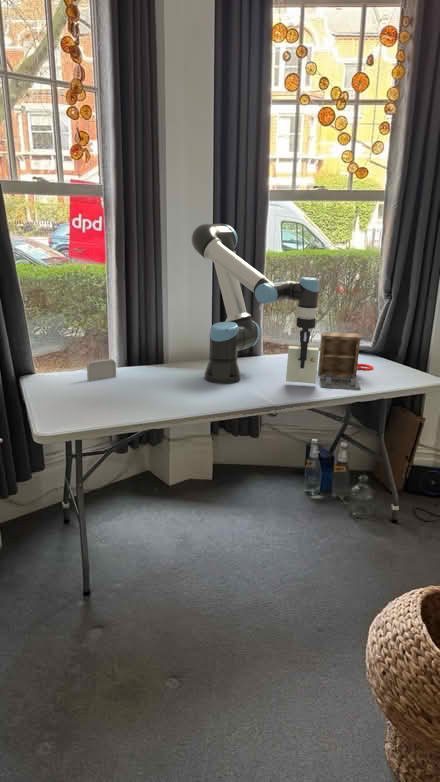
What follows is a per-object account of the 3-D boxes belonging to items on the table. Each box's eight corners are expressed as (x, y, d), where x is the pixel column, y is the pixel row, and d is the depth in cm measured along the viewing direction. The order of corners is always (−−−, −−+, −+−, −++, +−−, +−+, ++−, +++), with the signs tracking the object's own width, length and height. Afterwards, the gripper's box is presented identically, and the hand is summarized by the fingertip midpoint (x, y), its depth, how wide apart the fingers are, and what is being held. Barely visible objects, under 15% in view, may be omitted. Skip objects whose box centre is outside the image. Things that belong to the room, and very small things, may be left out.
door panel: (285, 382, 232) (288, 348, 228) (286, 378, 237) (288, 345, 233) (315, 384, 231) (318, 350, 227) (315, 380, 236) (318, 347, 231)
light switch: (116, 377, 239) (115, 359, 236) (89, 381, 232) (88, 362, 230) (114, 376, 240) (114, 358, 238) (87, 380, 234) (86, 361, 231)
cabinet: (318, 375, 250) (322, 335, 245) (318, 370, 258) (321, 331, 252) (355, 378, 249) (360, 337, 243) (354, 373, 256) (358, 333, 250)
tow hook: (369, 366, 270) (350, 365, 269) (373, 339, 265) (354, 338, 265) (375, 371, 262) (355, 370, 261) (380, 344, 258) (360, 343, 257)
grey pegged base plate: (320, 387, 234) (321, 377, 233) (319, 380, 244) (320, 371, 242) (360, 389, 232) (361, 380, 231) (357, 382, 242) (358, 373, 241)
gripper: (316, 322, 218) (311, 380, 225) (315, 314, 234) (309, 368, 241) (297, 320, 218) (292, 379, 226) (296, 312, 235) (292, 367, 242)
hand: (301, 373), depth 234 cm, fingers closed on door panel, 4 cm apart
